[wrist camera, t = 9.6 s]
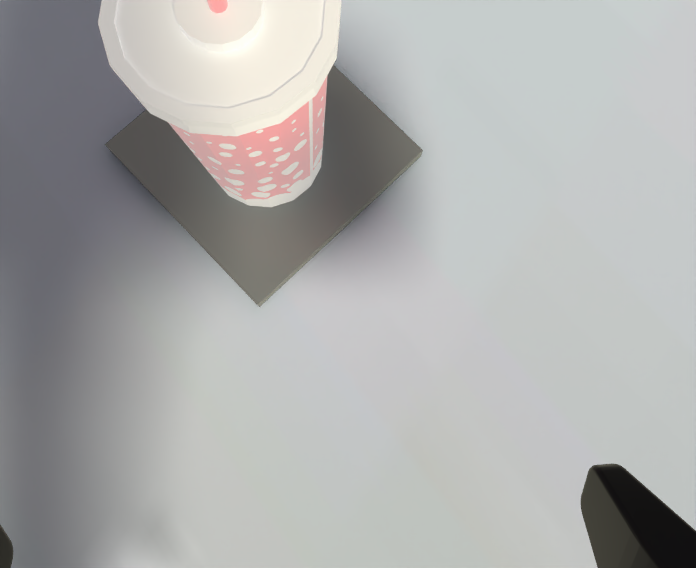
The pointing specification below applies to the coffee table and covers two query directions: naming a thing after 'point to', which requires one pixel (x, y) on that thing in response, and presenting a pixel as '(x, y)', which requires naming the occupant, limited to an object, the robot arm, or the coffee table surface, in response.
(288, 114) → the beverage cup
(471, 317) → the coffee table surface
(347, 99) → the coaster
